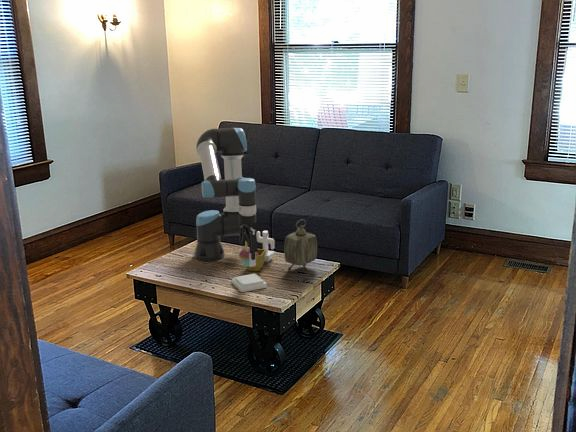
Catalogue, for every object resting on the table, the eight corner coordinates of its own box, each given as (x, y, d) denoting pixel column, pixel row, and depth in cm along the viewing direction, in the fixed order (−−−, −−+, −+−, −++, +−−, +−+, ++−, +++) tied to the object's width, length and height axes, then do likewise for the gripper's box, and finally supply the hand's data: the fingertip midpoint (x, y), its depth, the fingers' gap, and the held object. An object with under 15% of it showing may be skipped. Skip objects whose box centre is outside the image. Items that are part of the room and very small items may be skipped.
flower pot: (261, 273, 286) (261, 255, 284) (243, 272, 288) (243, 254, 285) (266, 266, 295) (265, 249, 292) (248, 265, 296) (248, 248, 294)
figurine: (271, 263, 299) (270, 234, 295) (254, 260, 303) (253, 232, 298) (277, 258, 305) (277, 230, 301) (260, 256, 309) (260, 228, 305)
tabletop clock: (304, 263, 299) (304, 214, 292) (318, 267, 293) (318, 218, 286) (284, 271, 289) (283, 221, 282) (298, 275, 283) (298, 224, 276)
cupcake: (251, 269, 264) (250, 243, 261) (235, 265, 268) (234, 240, 265) (261, 263, 271) (261, 237, 268) (245, 260, 275) (245, 235, 272)
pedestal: (232, 282, 275) (231, 276, 274) (256, 278, 280) (256, 272, 279) (241, 292, 265) (241, 285, 264) (266, 287, 270) (266, 281, 269)
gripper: (230, 209, 271) (232, 256, 277) (248, 221, 252) (249, 271, 258) (246, 207, 274) (247, 254, 280) (265, 218, 255) (265, 269, 262)
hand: (248, 262), depth 269 cm, fingers closed on cupcake, 8 cm apart
